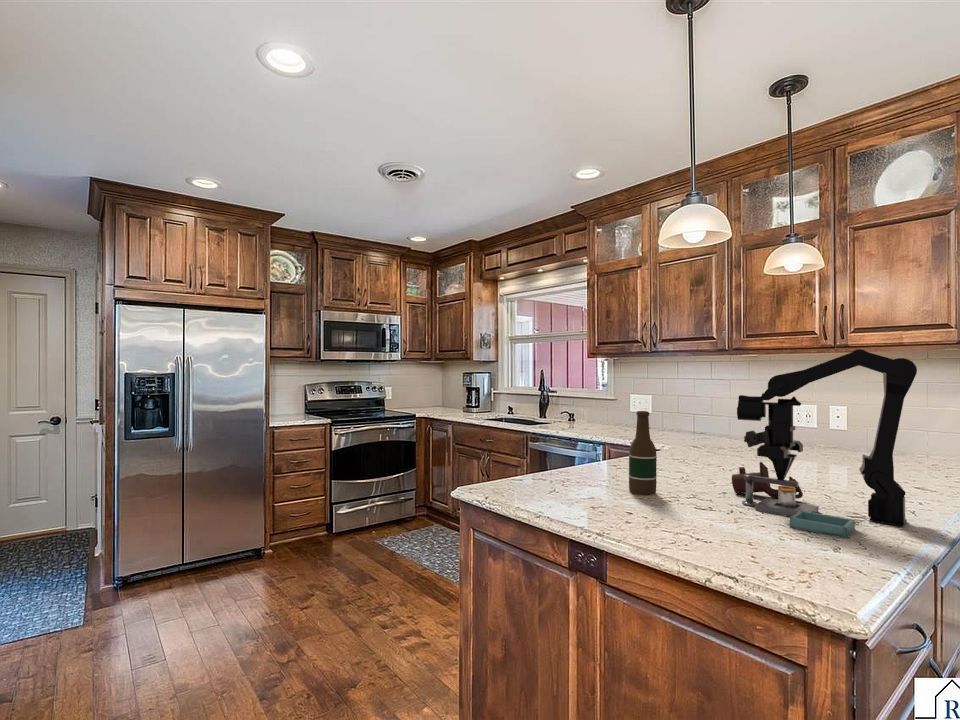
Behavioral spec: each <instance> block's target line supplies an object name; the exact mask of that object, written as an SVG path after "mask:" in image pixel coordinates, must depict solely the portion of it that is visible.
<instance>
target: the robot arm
mask: <svg viewBox="0 0 960 720" xmlns="http://www.w3.org/2000/svg"><path fill="white" fill-rule="evenodd" d="M858 366H859V367H863V368H866V369H870V370H872V371H875V372H877V373H878V372H879V373H881V374H882V377H883V379H882V380H883V381H882V382H883V383H882V384H883V394H884V395H883V399H882V406H881V408H880V415H879V418H878V419H879V420H878V424H877V429H876V433H875V437H874V438H875V439H874V443H873V448H872V451H871V452H870V454H869V455H866V454H862V461H861V462H862V463H861V466H860V467H859V469H858V471H859V472H860V475H861V476H862V478H863V481H864V483H865V484H866V485H867V487H869V488H870V489H871V490H873V491H874V492H872V493H870V498H869V499H868V500H867V513H868V514H867V516H868V517H869V521H870V522H872V523H873V522H874V523H880V524H884V525H885V524H886V525H892V526H898V527H904V526H905V525H906V523H907V520H908V519H906V497H905V496H906V493H907V492H906V491H905V490H904V488H903V487H902V486H901V485H900V484H899V483H898V482H897V481H896V480H895V468H894V456H893V455H894V450H895V445H896V440H897V435H898V429H899V426H900V425H899V424H900V421H901V416H902V411H903V407H904V400H905V398H906V396H907V393H908V392H909V390H910V389H911V386H912V384H913V382H914V380H915V378H916V376H917V373H918V368H917V365H916V364H915V363H914V361H912V360H910V359H909V358H904V357H903V358H901V357H900V358H898V357H897V358H894V359H893V358H889V357H886V356H883V355H880V354H875V353H872V352H869V351H867V350H866V349H865V350H864V349H862V348H861V349H860V348H859V349H855V350H853V351H851V352H849V353H846V354H844V355H843V354H842V355H841V356H838V357H836V358H833V359H830V360H828V361H824V362H821V363H819V364H816V365H813V366H811V367H807V368H805V369H802V370H797V371H793V372H787V373H781V374H777V375H774V376H772V377H771V378H770V379H769V380H768V382H767V388H766V390H764V392H762V393H761V396H756V395H755V396H750V395H745V394H744V395H742V394H740V395H738V400H737V407H736V416H737V417H736V419H737V420H738V421H755V422H756V421H757V422H761V421H762V418H766V416H767V413H768V417H767V418H768V419H767V420H768V424H767V425H765V426H764V431H760V432H756V431H755V430H749V431H746V432H745V435H744V436H743V437H744V438H743V442H744V443H746V445H747V446H748V448H752V447H755V446H758V445H760V446H759V447H757V448H756V456H757V457H764V458H767V459H768V460H770V461H771V462H772V466H773V469H774V472H775V475H776V479H781V480H786V476H787V475H788V473H789V471H790V469H791V467H792V465H793V463H794V461H795V460H796V457H797V454H794V453H793V454H792V452H791V451H797V452H798V453H802V452H803V451H804V444H803V442H801V441H800V440H794V431H796V426H794V406H796V407H800V406H801V405H802V402H801V401H799V400H798V399H797V398H796V396H794V395H793V396H792V398H783V397H786V396H788V395H790V394H793V393H794V392H795V391H797V390H799V389H801V388H804V387H805V386H806V385H808V384H811V383H812V382H815V381H819V380H822V379H824V378H827V377H830V376H833V375H835V374H838V373H841V372H844V371H846V370H849V369H853V368H856V367H858ZM776 397H778V399H777V402H776V401H772V402H771V401H770V400H772V399H774V398H776ZM767 406H768V407H767ZM767 408H768V409H767ZM767 411H768V412H767Z"/></svg>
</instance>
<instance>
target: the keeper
mask: <svg viewBox="0 0 960 720" xmlns="http://www.w3.org/2000/svg"><path fill="white" fill-rule="evenodd" d="M744 480H746V481H756V482H763V483H770V485H778V486H782V485H783V486H791V487H798V485H799V481H797V480H796V481H797V482H796V481H789V479H788V480H787V479H784V480H781V479H777V478H773V477H769V478H766V477H759V476H754V475H744Z"/></svg>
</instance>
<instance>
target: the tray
mask: <svg viewBox="0 0 960 720" xmlns="http://www.w3.org/2000/svg"><path fill="white" fill-rule="evenodd" d="M855 523H856V522H855V519H853V518H852V519H851V518H845V517H839V516H834V515H828V514H823V513H811V512H805V511H799V512H797V513H796V514H794V515H793V516H792V517H791V516H789V528H790V527H792V528H791V529H795V528H796V529H797V530H802V531H805V532H812V533H816V534H817V533H818V534H823V535H828V536H832V537H837V536H838V538H842V537H843V539H847V538H849V536H850V535H851V534H852V533H853V532H854V531H855V526H856V525H855ZM796 529H795V530H796Z"/></svg>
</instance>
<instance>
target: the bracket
mask: <svg viewBox="0 0 960 720" xmlns="http://www.w3.org/2000/svg"><path fill="white" fill-rule="evenodd" d="M738 468H739V469H738V471H739V473H735V474H731V484H732V489H733V491H734V493H735V494H736V493H737V494H746V480H744V475H754V476H759V477H766V478H770V475H769V469H768V467H767V466H766V465H765V464H764V463H763V462H762V461H760V462H759V472H758V471H757V472H749V473H746V468H745V466H743V467H741V466H740V467H738ZM788 478H789V479H788V481H796V482H798V481H797V480H796V479H795V478H793V477H792V476H788ZM754 493H765V494H766V495H768V496H769V498H771V499H778V489H775V488H772V486H771V484H770V483H763V482H756V481H753V494H754ZM797 493H798V494H797ZM803 496H804V492H803V490H802V488H801V486H800V484H798V487H795V500H797V499H801V498H803Z"/></svg>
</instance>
